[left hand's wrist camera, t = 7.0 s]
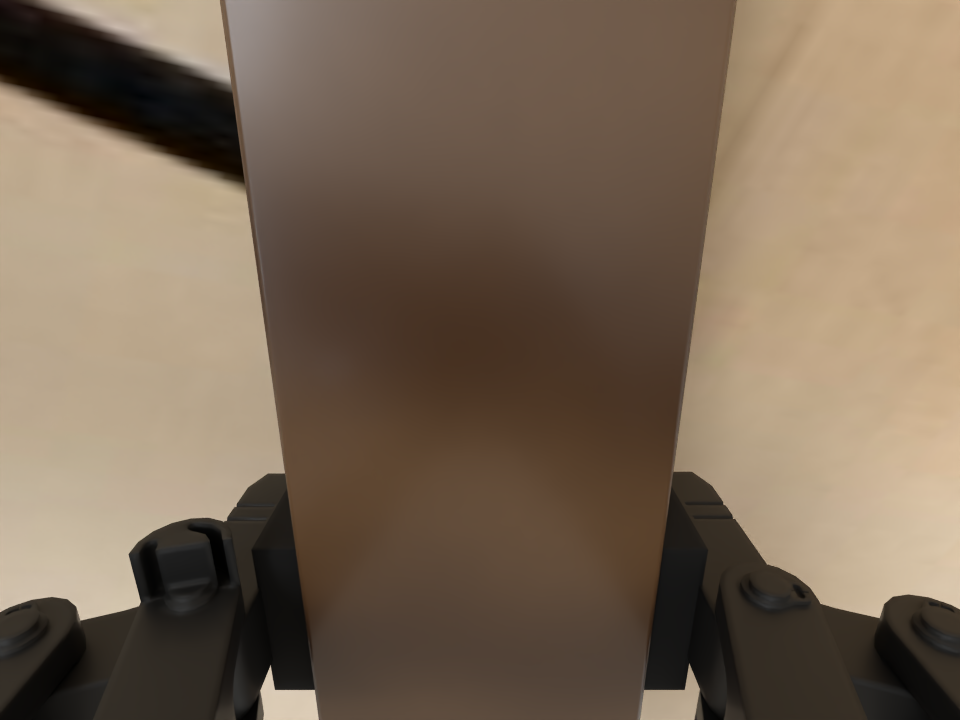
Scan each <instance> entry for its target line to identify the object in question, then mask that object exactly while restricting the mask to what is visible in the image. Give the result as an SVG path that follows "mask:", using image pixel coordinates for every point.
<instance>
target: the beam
mask: <svg viewBox="0 0 960 720" xmlns="http://www.w3.org/2000/svg"><path fill="white" fill-rule="evenodd" d="M736 2H737V0H220V4H221V12H222V19H223V26H224V33H225V41H226V48H227V55H228V62H229V70H230V77H231V84H232V91H233V99H234V106H235V113H236V120H237V128H238V135H239V142H240V149H241V157H242V164H243V171H244V178H245V186H246V193H247V200H248V208H249V215H250V222H251V229H252V237H253V244H254V251H255V258H256V266H257V273H258V280H259V287H260V295H261V302H262V309H263V316H264V324H265V331H266V338H267V345H268V353H269V360H270V367H271V374H272V382H273V389H274V396H275V403H276V411H277V418H278V425H279V432H280V440H281V447H282V454H283V461H284V469H285V476H286V483H287V491H288V498H289V505H290V512H291V520H292V527H293V534H294V541H295V549H296V556H297V563H298V570H299V578H300V585H301V592H302V599H303V607H304V614H305V621H306V628H307V636H308V643H309V650H310V657H311V665H312V672H313V679H314V686H315V694H316V701H317V708H318V715H319V720H640V715H641V707H642V700H643V693H644V685H645V678H646V670H647V663H648V655H649V648H650V641H651V633H652V626H653V618H654V611H655V603H656V596H657V589H658V581H659V574H660V566H661V559H662V551H663V544H664V537H665V529H666V522H667V514H668V507H669V499H670V492H671V485H672V477H673V470H674V462H675V455H676V447H677V440H678V433H679V425H680V418H681V410H682V403H683V395H684V388H685V381H686V373H687V366H688V358H689V351H690V343H691V336H692V329H693V321H694V314H695V306H696V299H697V291H698V284H699V277H700V269H701V262H702V254H703V247H704V239H705V232H706V225H707V217H708V210H709V202H710V195H711V188H712V180H713V173H714V165H715V158H716V150H717V143H718V136H719V128H720V121H721V113H722V106H723V98H724V91H725V84H726V76H727V69H728V61H729V54H730V46H731V39H732V32H733V24H734V17H735V9H736Z"/></svg>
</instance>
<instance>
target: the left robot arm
mask: <svg viewBox="0 0 960 720" xmlns="http://www.w3.org/2000/svg"><path fill="white" fill-rule="evenodd" d="M129 558H130V562H131V565H132V569H133V573H134V577H135V581H136V584H137V588H138V592H139V596H140V600H141V603H140V606H139V607H135V608H132V609H129V610H125V611H121V612H117V613H113V614H108V615H104V616H99V617H95V618H91V619H86V620H82V621H80V618H79V615H78V611H77V608H76V606H75V605H73V604H72V603H71V602H70V601H69V600H68V599H61V598H55V597H49V598H42V599H35V600H30V601H27V602H24V603H21V604H18V605H15V606H13V607H10V608H8V609H6V610H4V611H2V612H0V720H263V717H264V712H263V704H262V698H261V693H260V690H261V687H262V685H263V682H264V680H265V677H266V675H267V673H268V670H269V668H270V665H271V669H272V675H273V681H274V687H275V690H315V686H314V679H313V672H312V665H311V657H310V650H309V643H308V636H307V628H306V621H305V614H304V607H303V599H302V592H301V585H300V578H299V570H298V563H297V556H296V549H295V541H294V534H293V527H292V520H291V512H290V505H289V498H288V491H287V483H286V476H285V474H267V475H265V476H264V477H263V478H261V479H260V480H258V481H257V482H256V483H254V484H253V485H251V486H250V487H248V489H247V490H246V492H245V493H244V494H243V496H242V497H241V499H240V500H239V502H238V503H237V507H234V509H233V510H232V512H231V513H230V515H229V516H228V517H227V521H225V522H223V521H219V520H215V519H211V518H194V519H188V520H183V521H179V522H175V523H171V524H169V525H167V526H165V527H162V528H160V529H158V530H155V531H153V532H152V533H150V534H149V535H148V536H146V537H145V538H143V539H142V540H141V541H139V542H138V543H137V544H136V546H135V547H134V548H133V549H132V551H131V552H130V553H129ZM689 663H690V666H691V668H692V671H693V673H694V675H695V678H696V680H697V683H698V685H699V688H700V693H699V698H698V703H697V709H696V714H695V720H960V609H958V608H956V607H954V606H952V605H949V604H947V603H944V602H941V601H938V600H935V599H932V598H929V597H922V596H915V595H902V596H896V597H892V598H891V599H890V600H889V601H887V602H886V603H885V604H884V607H883V610H882V613H881V616H880V618H876V617H871V616H867V615H862V614H858V613H854V612H849V611H845V610H840V609H836V608H833V607H829V606H826V605H822V604H820V602H819V600H818V599H817V597H816V596H815V594H814V593H813V592H812V590H811V589H810V588H809V587H808V586H807V585H806V584H804V583H803V582H802V581H801V580H799V579H798V578H797V577H796V576H794V575H792V574H790V573H788V572H786V571H784V570H782V569H780V568H778V567H774V566H770V565H767V564H766V562H765V561H764V560H763V558H762V557H761V555H760V554H759V553H758V551H757V550H756V548H755V547H754V545H753V544H752V543H751V541H750V540H749V538H748V537H747V535H746V534H745V533H744V531H743V530H742V528H741V527H740V525H739V524H738V523H737V521H736V520H735V519H733V515H732V514H731V513H730V511H729V510H728V508H727V507H726V505H723V501H722V500H721V498H720V497H719V495H718V494H717V493H716V491H715V490H714V488H713V487H712V486H711V485H710V484H708V483H707V482H706V481H704V480H703V479H701V478H700V477H698V476H697V475H696V474H694V473H693V472H673V477H672V485H671V492H670V499H669V507H668V514H667V522H666V529H665V537H664V544H663V551H662V559H661V566H660V574H659V581H658V589H657V596H656V603H655V611H654V618H653V626H652V633H651V641H650V648H649V655H648V663H647V670H646V678H645V685H644V690H685V685H686V679H687V673H688V667H689Z"/></svg>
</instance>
